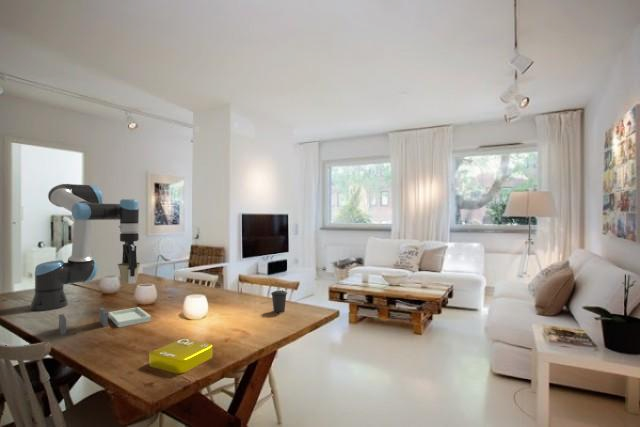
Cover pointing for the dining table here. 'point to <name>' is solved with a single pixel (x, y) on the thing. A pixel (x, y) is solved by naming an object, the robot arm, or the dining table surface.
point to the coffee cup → (279, 300)
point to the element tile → (180, 355)
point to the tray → (129, 317)
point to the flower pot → (124, 272)
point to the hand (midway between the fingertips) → (129, 281)
